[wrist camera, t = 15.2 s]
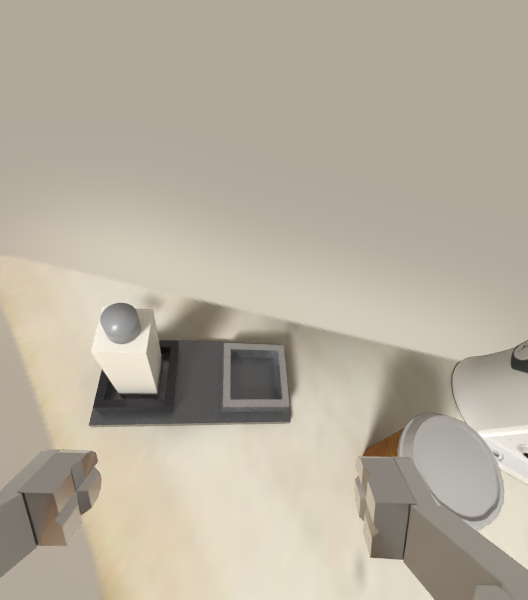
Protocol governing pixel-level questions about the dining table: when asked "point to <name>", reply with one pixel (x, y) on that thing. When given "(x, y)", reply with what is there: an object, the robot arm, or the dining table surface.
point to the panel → (204, 388)
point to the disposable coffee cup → (450, 465)
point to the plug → (129, 350)
